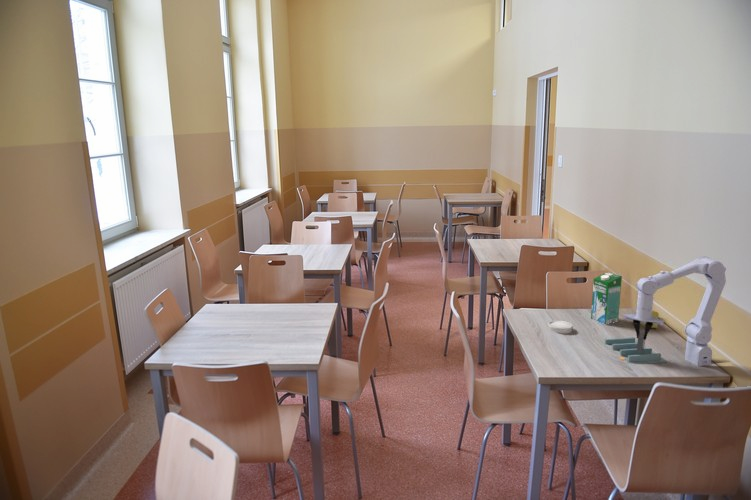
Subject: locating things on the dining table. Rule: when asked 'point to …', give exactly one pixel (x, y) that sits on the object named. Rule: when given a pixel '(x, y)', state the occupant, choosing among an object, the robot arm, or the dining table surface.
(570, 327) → the ramekin
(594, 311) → the milk carton
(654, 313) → the plastic component
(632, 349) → the slot rack
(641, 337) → the panel
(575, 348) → the dining table surface
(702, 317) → the robot arm
